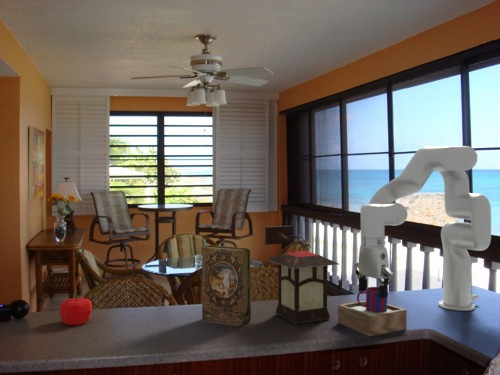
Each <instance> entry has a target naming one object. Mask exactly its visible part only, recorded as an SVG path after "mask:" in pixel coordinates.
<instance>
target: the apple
mask: <svg viewBox="0 0 500 375" xmlns="http://www.w3.org/2000/svg"><path fill="white" fill-rule="evenodd" d="M77 296H78V293H76V292H73V297H74V298H67V299H64V301H62V302H61V303H60V305H59V315H60V319H61V322H62V323H64V324H65V325H68V326H81V325H85V324H86V322H88V321H89V320H90V318H91V316H92V311H93V303H92V300H90V299H88V298H85V297H77Z"/></svg>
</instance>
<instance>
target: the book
mask: <svg viewBox="0 0 500 375" xmlns="http://www.w3.org/2000/svg"><path fill="white" fill-rule="evenodd" d="M251 259H252V258H251V249H250V247H239V246H238V247H236V246H222V245H204V246H201V294H202V295H201V298H202V299H201V306H202V308H201V311H202V312H201V314H202V315H201V317H202V318H201V320H202V322H205V323H211V324H219V325H226V326H233V327H243V326H244V325H245V324H247V323H250V321H251V320H252V319H251V318H252V309H251V308H252V302H251V301H252V300H251V298H252V297H251V295H252V292H251V291H252V289H251V286H252V284H251V282H252V281H251V278H252V276H251V272H252V271H251V269H252V268H251V264H252V263H251V261H252V260H251Z"/></svg>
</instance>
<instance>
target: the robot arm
mask: <svg viewBox="0 0 500 375" xmlns="http://www.w3.org/2000/svg"><path fill="white" fill-rule="evenodd" d="M477 162H478V153H477V151H476V149H474V148H473V147H472V146H469V145H460V146H459V145H458V146H454V145H453V146H449V145H447V146H446V145H444V146H443V145H442V146H441V145H440V146H439V145H438V146H424V147H421V148H419V149H418V150H416V152H415V153H414V154H413V156H412V157H411V158H410V160H409V161H408V163H407V165H406V166H405V167H404V169H403V170H402V171H401V173H400V174H399V175H398V176H397V177H395V178H393V179H392V180H390V181H388V182H387V183H386V184H384V185H382V186H381V187H380V188H378V190H376V191H375V193H374V194H373V196H372V197H371V199H370V200H369V202H368V203H366V204H363V205H361V207H360V245H359V246H360V247H359V252H358V262H356V263H355V264H354V265H353V267H354V270H355V274H356V278H357V279H358V293H359V292H360V291H365V292H366V288H368V279H367V278H372V279H377V280H378V283H379V284H380V285H378V287H379V298H385V297H387V298H388V296H389V286H390V284H391V282H392V280H393V277H394V273H393V271H391V269H390V262H389V256H388V254H389V253H388V250H387V247H386V246H385V245H386V241H385V237H386V235H385V226H394V227H395V226H399V225H403V223H405V222H406V220H407V218H408V210H407V208H406V207H405V206H404V205H403V204H401V203H399V202H395V201H396V200H398V199H401V198H405V197H407V196H411V195H414V194H416V193H418V192H419V191H421V190H422V189H423V187H424V186H425V184H426V183H427V182H428V179H429V178H430V177H431V175H432V174H433V173H434V172H438V173H439V174H440V175H441V178H442V180H443V186H444V210H445V214H446V215H447V216H448V217H449V218H452V219H459V220H469V221H470V222H462V221H449V222H446V223H445V224H444V225H443V226H442V228H441V230H440V238H441V243H442V251H443V253H442V254H443V255H442V256H443V264H442V265H443V266H442V268H443V270H442V272H443V273H442V275H443V278H442V279H443V280H442V300H439V301H438V307H440V308H442V309H447V310H451V311H458V312H459V311H460V312H464V311H465V312H466V311H467V312H468V311H473V310H475V308H476V304H474V303H473V301H475V300H478V299H479V295H478V294H471V293H472V292H471V291H472V290H471V288H472V287H471V284H472V259H471V256H470V254H469V252H468V250H470V251H477V252H479V251H480V252H481V251H485V250H487V249H488V248H489V246H490V244H491V240H492V207H491V203H490V200H489V198H488V197H487V196H486V195H484V194H482V193H473V192H472V193H471V192H470V180H469V179H470V178H469V176H468V174H467V172H466V171H469V170H472V169H473V168H474V167H475V166H476V164H477Z"/></svg>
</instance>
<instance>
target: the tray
mask: <svg viewBox="0 0 500 375" xmlns="http://www.w3.org/2000/svg"><path fill="white" fill-rule="evenodd" d="M359 301H360V303H361V304H362V305H366V300H359ZM407 312H408V311H407V309H405V308H403V307H398V306H396V305H394V304H390V303H387V311H386V312H371V311H368V310H366V307H363V306H361V305H360V304H359V303H358V301H354V302H347V303H341V304H338V305H337V324H338V325H342V326H343V327H345V328H348V329H351V330H353V331H355V332H357V333H361V334H363V335H365V336H368V337H373V336H378V335H383V334H388V333H394V332H399V331H403V330H406V329H407V322H408V320H407V317H408V316H407V314H408V313H407Z"/></svg>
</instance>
